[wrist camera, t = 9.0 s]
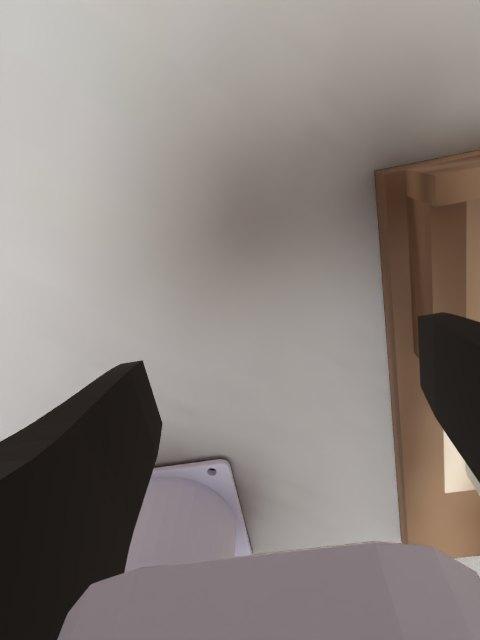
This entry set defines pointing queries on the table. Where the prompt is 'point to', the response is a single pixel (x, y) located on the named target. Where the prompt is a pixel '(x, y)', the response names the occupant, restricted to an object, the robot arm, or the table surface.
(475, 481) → the block
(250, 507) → the table surface
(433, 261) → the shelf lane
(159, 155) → the table surface
